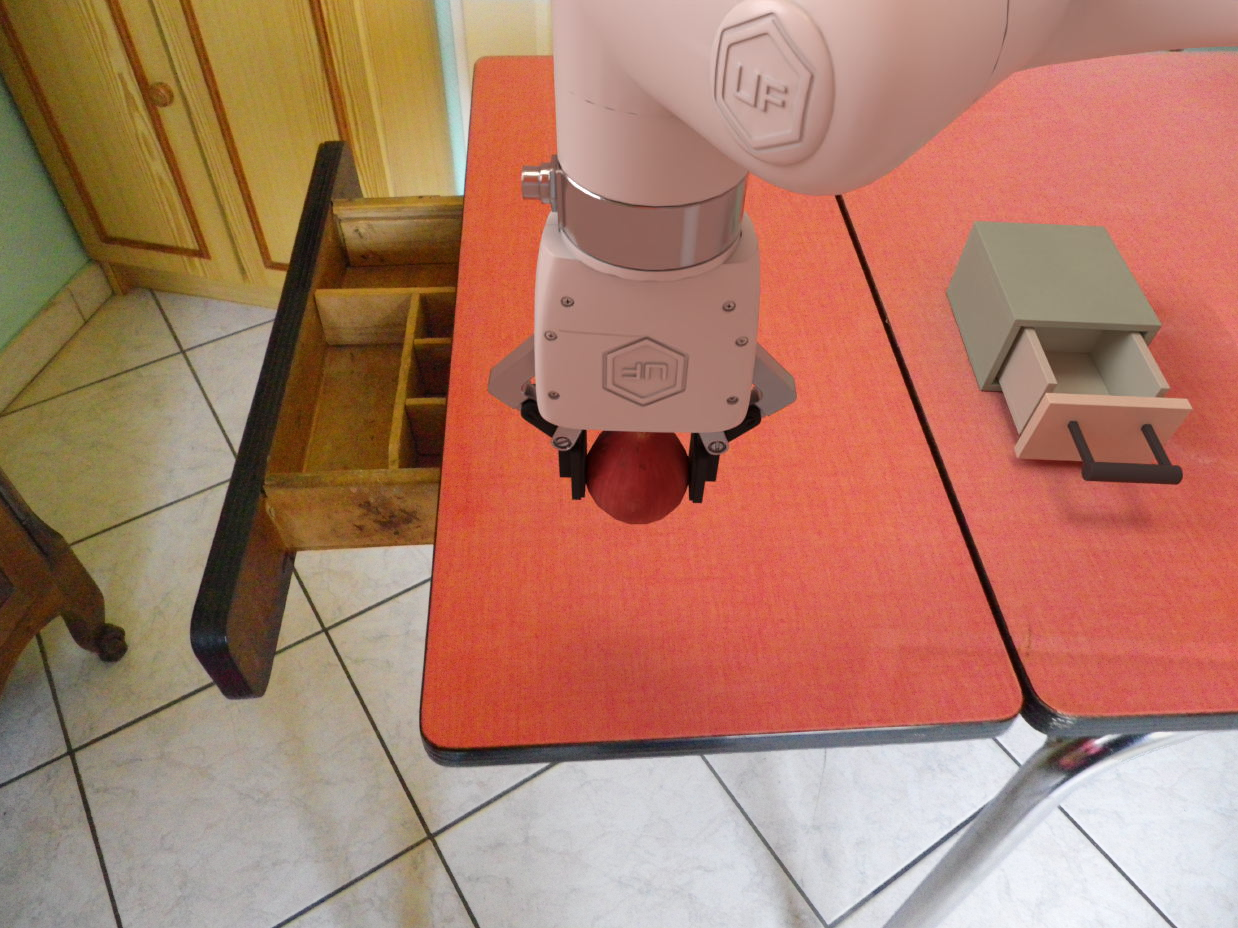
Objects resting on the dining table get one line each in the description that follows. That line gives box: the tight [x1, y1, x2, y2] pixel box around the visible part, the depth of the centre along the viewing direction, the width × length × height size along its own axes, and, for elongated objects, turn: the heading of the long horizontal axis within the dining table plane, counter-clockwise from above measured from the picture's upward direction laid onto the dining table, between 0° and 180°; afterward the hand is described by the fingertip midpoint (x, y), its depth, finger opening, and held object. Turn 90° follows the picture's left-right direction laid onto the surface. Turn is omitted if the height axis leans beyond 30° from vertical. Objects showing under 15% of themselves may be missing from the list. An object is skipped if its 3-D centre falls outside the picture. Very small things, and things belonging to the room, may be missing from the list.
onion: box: [585, 430, 690, 525], centre depth 47 cm, size 6×6×8 cm
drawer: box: [997, 326, 1193, 486], centre depth 72 cm, size 19×11×7 cm, turn 178°
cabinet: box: [945, 220, 1163, 392], centre depth 80 cm, size 15×13×9 cm
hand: (637, 480), depth 48 cm, fingers closed on onion, 5 cm apart
